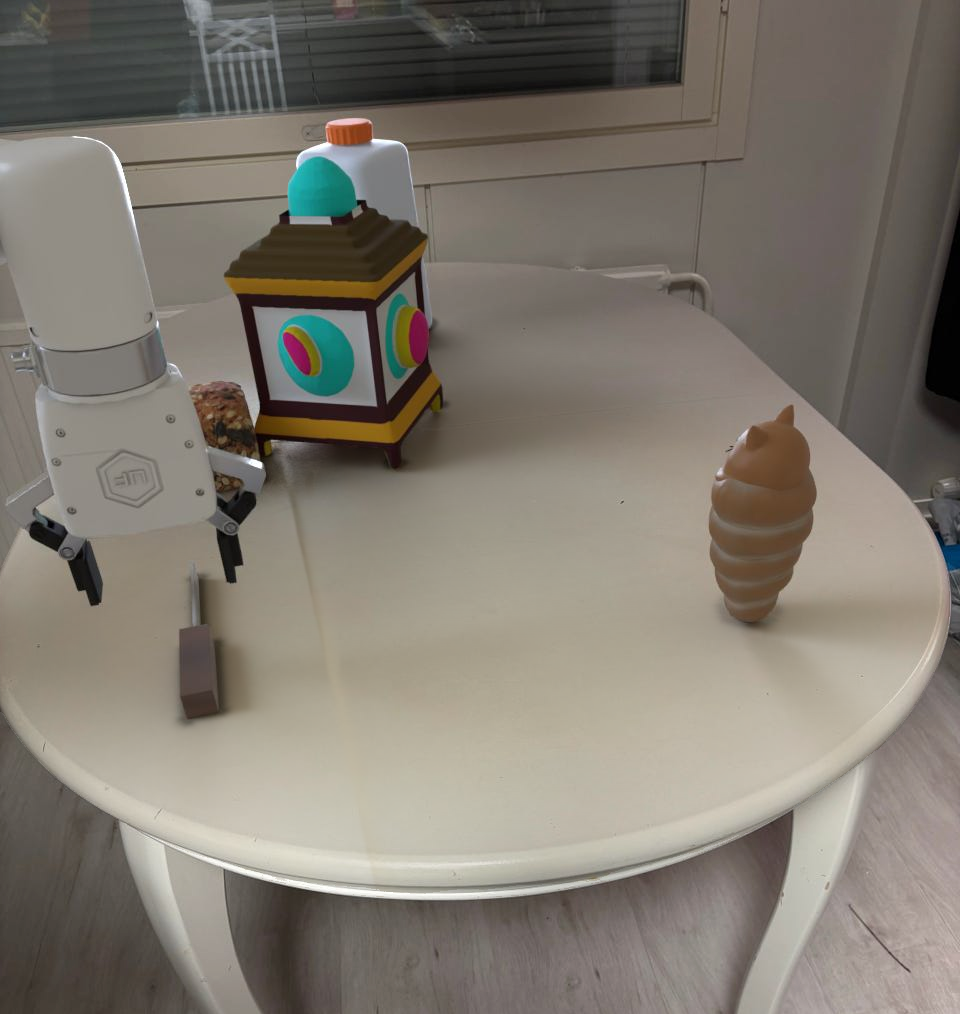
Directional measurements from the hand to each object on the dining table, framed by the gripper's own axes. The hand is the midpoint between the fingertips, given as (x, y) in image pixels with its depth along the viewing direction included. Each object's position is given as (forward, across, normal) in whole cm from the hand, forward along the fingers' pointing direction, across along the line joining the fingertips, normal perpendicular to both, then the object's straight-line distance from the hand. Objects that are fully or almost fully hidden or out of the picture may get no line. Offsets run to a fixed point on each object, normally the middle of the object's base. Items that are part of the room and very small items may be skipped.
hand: (165, 584), depth 71 cm
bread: (+10, -1, +37) cm, 38 cm away
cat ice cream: (+9, +46, -5) cm, 47 cm away
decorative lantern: (+10, +20, +43) cm, 48 cm away
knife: (+10, +1, +5) cm, 11 cm away
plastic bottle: (+10, +28, +76) cm, 81 cm away
